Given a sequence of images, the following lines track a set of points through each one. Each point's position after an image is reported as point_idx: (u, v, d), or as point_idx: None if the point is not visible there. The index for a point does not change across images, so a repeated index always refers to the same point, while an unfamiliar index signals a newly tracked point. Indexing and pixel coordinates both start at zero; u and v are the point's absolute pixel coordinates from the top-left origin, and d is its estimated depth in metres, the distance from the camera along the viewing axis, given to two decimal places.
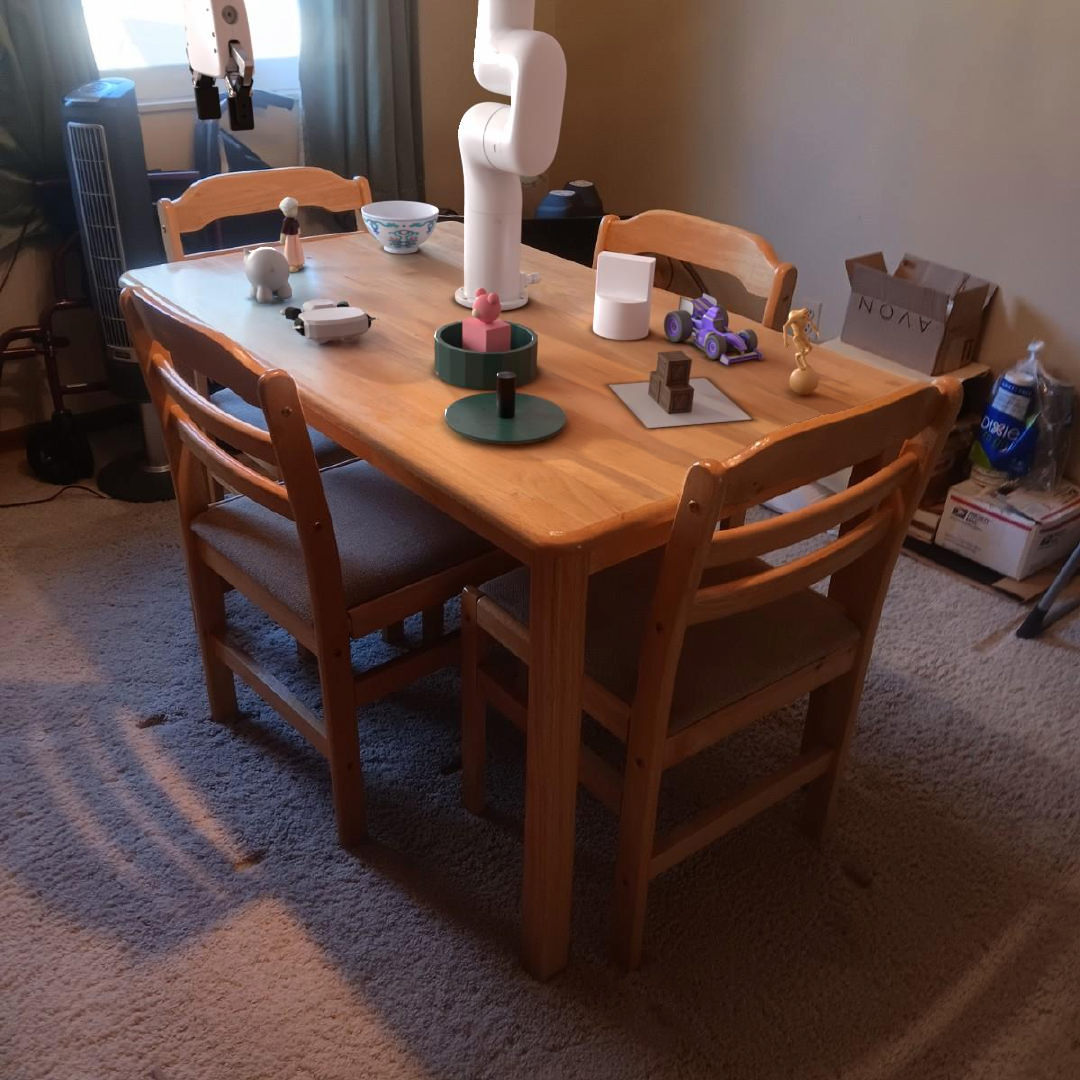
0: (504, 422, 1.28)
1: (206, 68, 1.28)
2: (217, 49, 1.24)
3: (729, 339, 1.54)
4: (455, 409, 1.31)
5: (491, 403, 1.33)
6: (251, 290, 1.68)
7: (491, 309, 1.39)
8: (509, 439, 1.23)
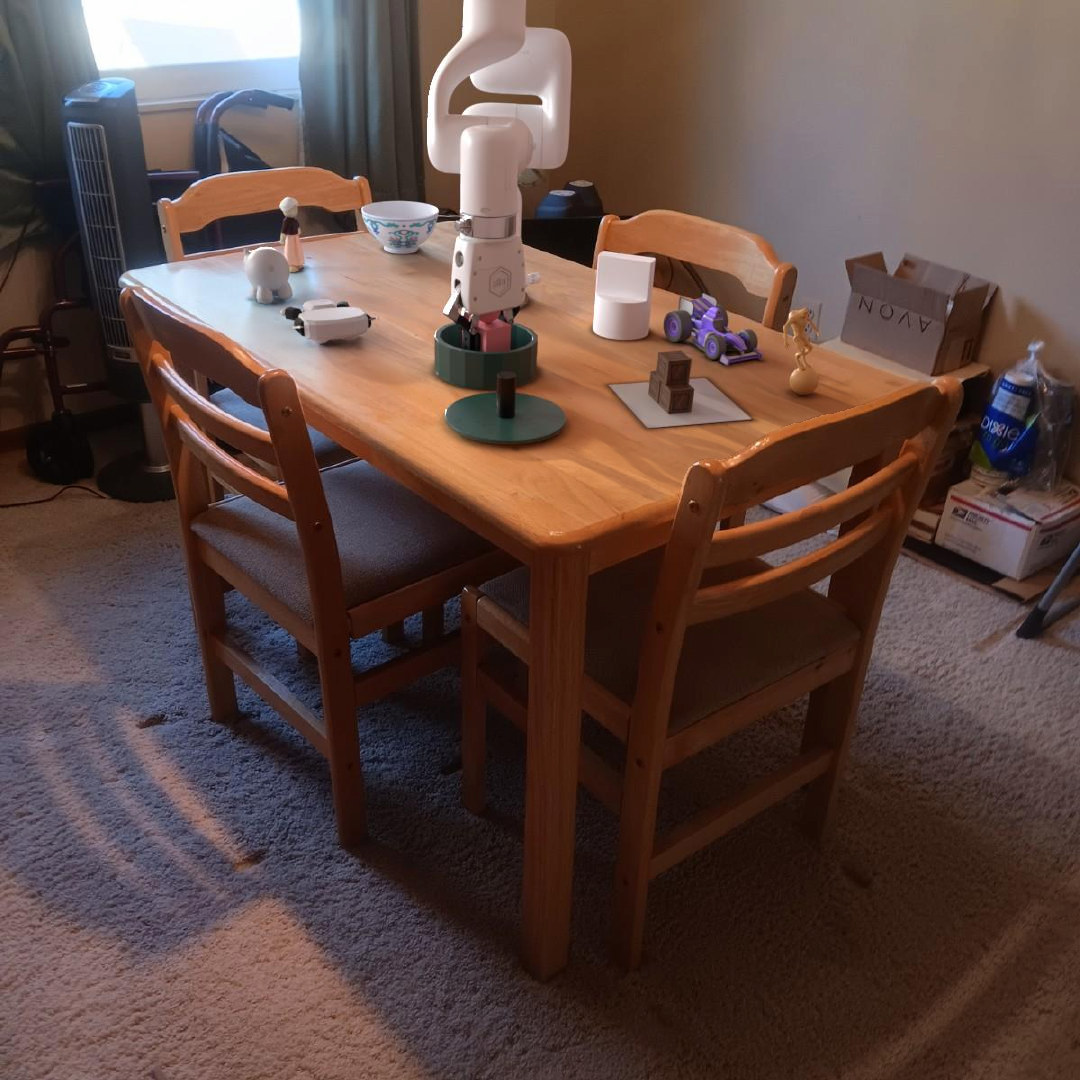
0: (504, 422, 1.28)
1: None
2: None
3: (729, 339, 1.53)
4: (455, 409, 1.31)
5: (491, 403, 1.33)
6: (251, 290, 1.68)
7: None
8: (509, 439, 1.23)
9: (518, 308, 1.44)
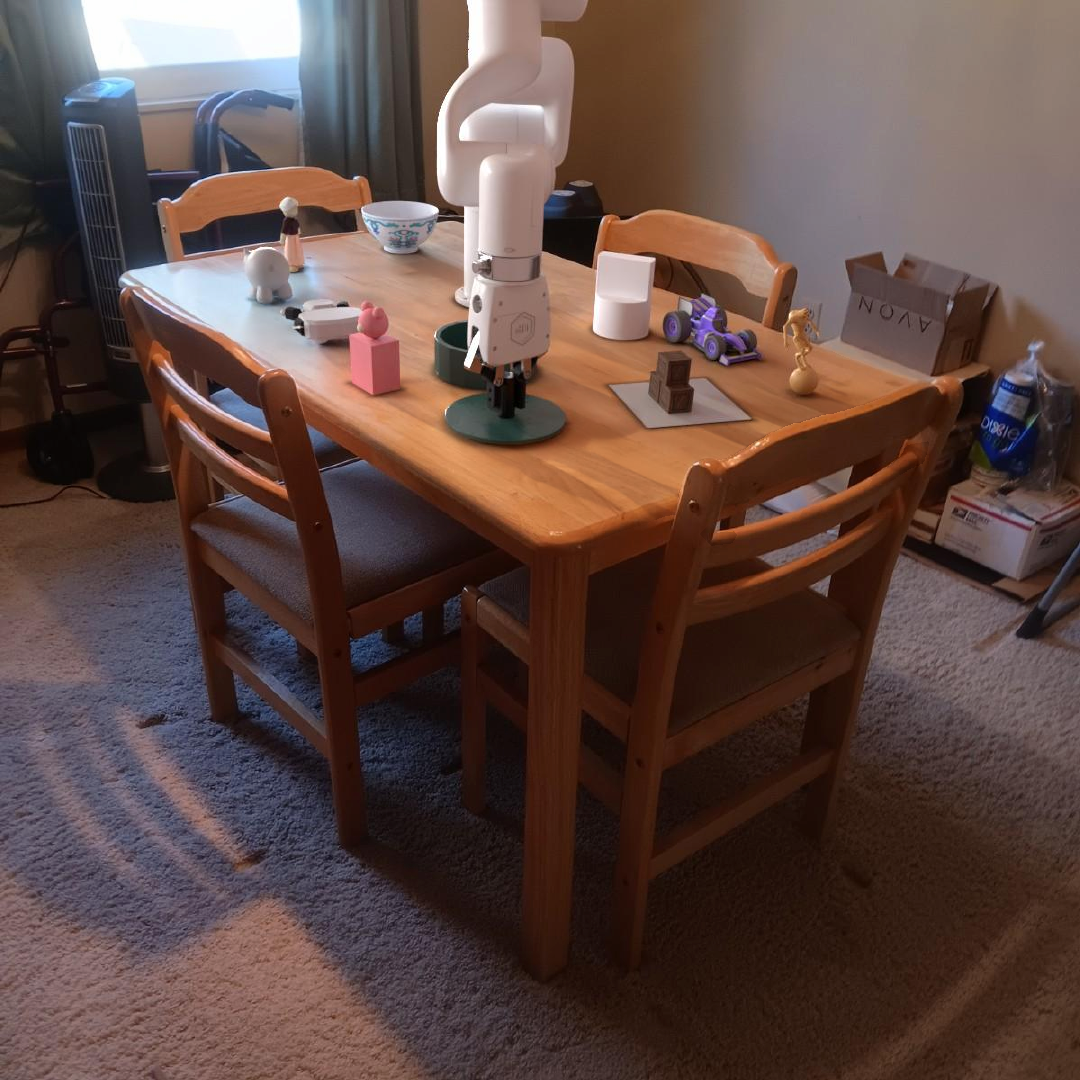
0: (504, 422, 1.28)
1: None
2: None
3: (728, 339, 1.53)
4: (455, 409, 1.31)
5: None
6: (251, 290, 1.68)
7: (376, 324, 1.33)
8: (509, 439, 1.23)
9: (536, 358, 1.28)
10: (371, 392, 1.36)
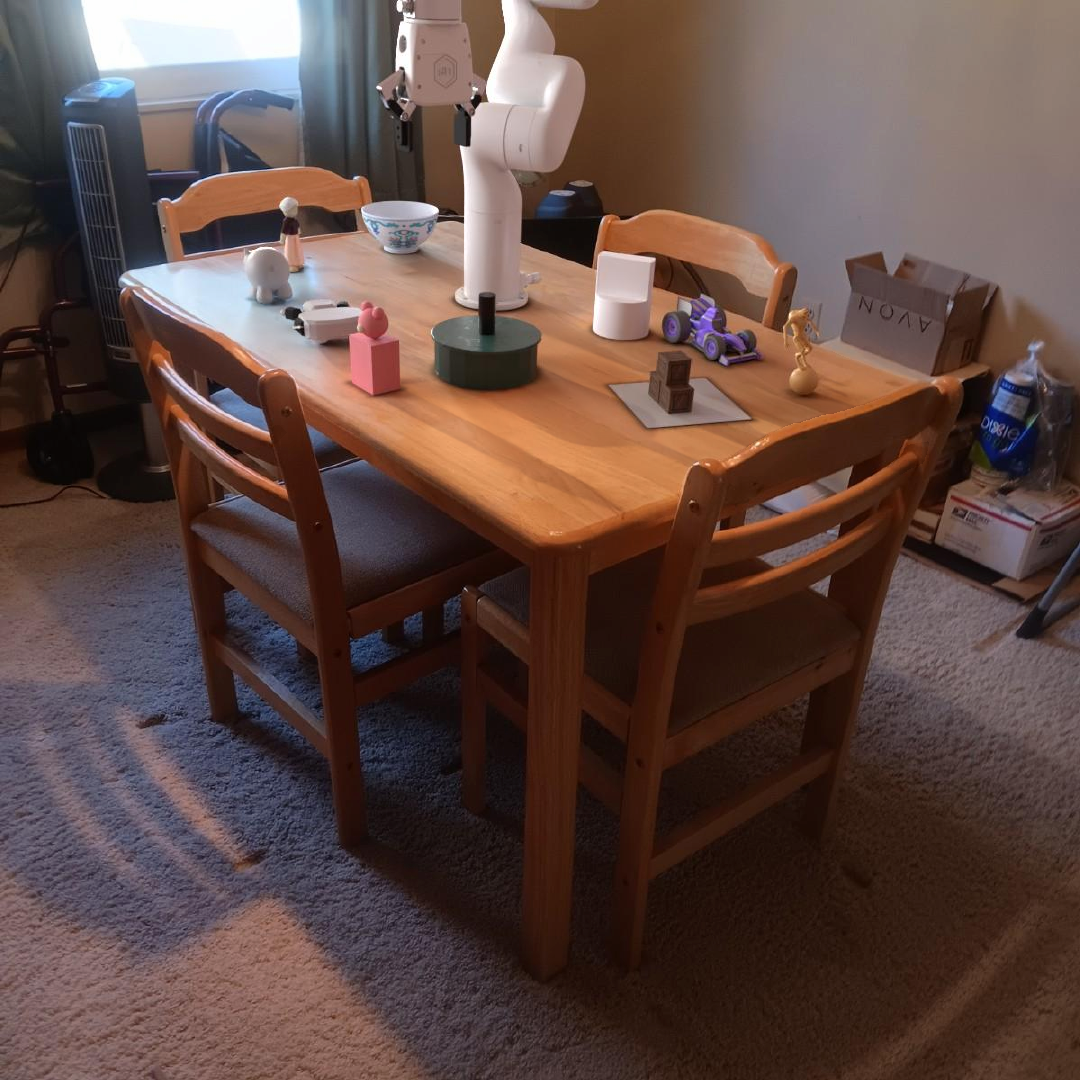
0: (485, 338, 1.41)
1: None
2: None
3: (728, 339, 1.53)
4: (441, 328, 1.44)
5: (473, 323, 1.46)
6: (251, 290, 1.68)
7: (376, 323, 1.33)
8: (489, 350, 1.36)
9: (480, 98, 1.41)
10: (371, 392, 1.36)
